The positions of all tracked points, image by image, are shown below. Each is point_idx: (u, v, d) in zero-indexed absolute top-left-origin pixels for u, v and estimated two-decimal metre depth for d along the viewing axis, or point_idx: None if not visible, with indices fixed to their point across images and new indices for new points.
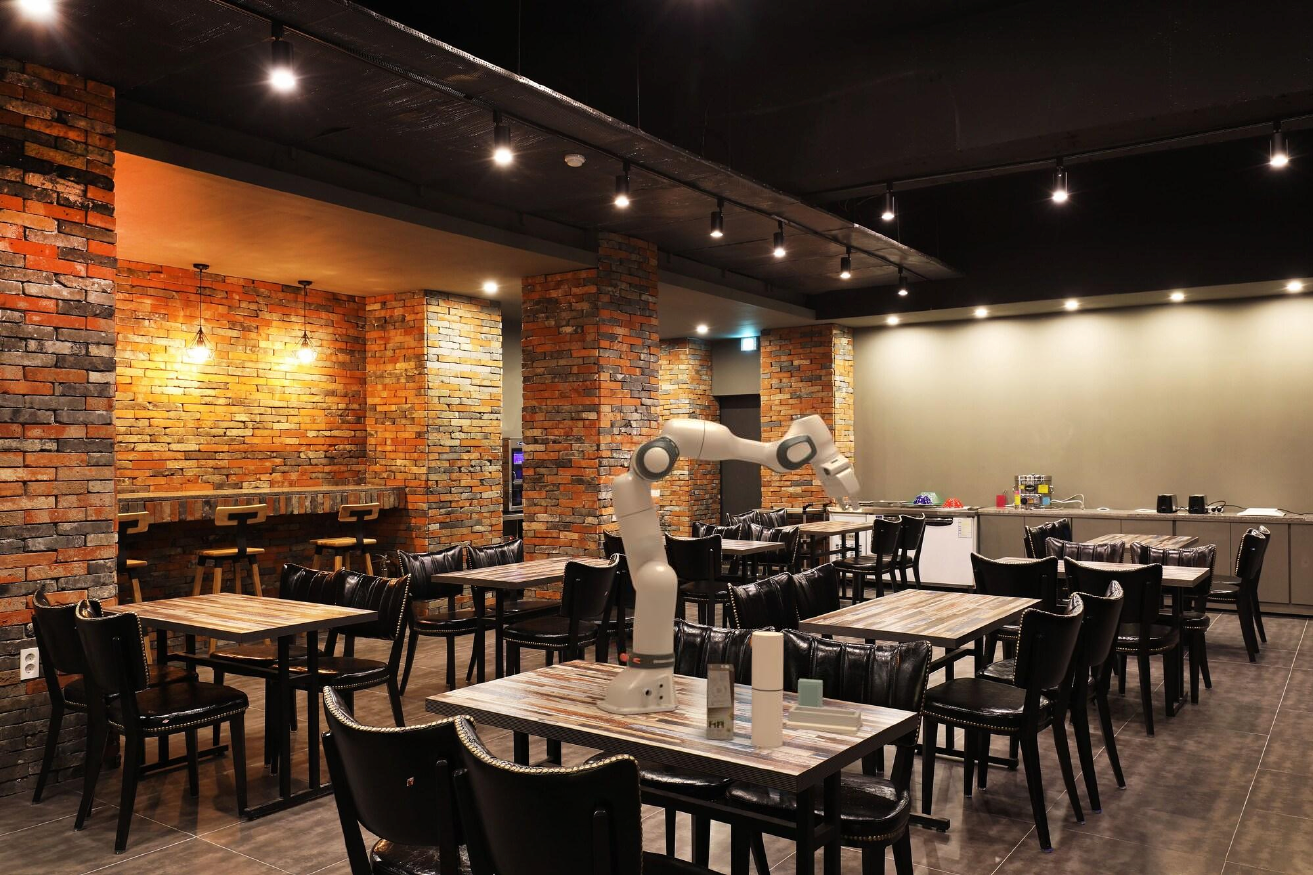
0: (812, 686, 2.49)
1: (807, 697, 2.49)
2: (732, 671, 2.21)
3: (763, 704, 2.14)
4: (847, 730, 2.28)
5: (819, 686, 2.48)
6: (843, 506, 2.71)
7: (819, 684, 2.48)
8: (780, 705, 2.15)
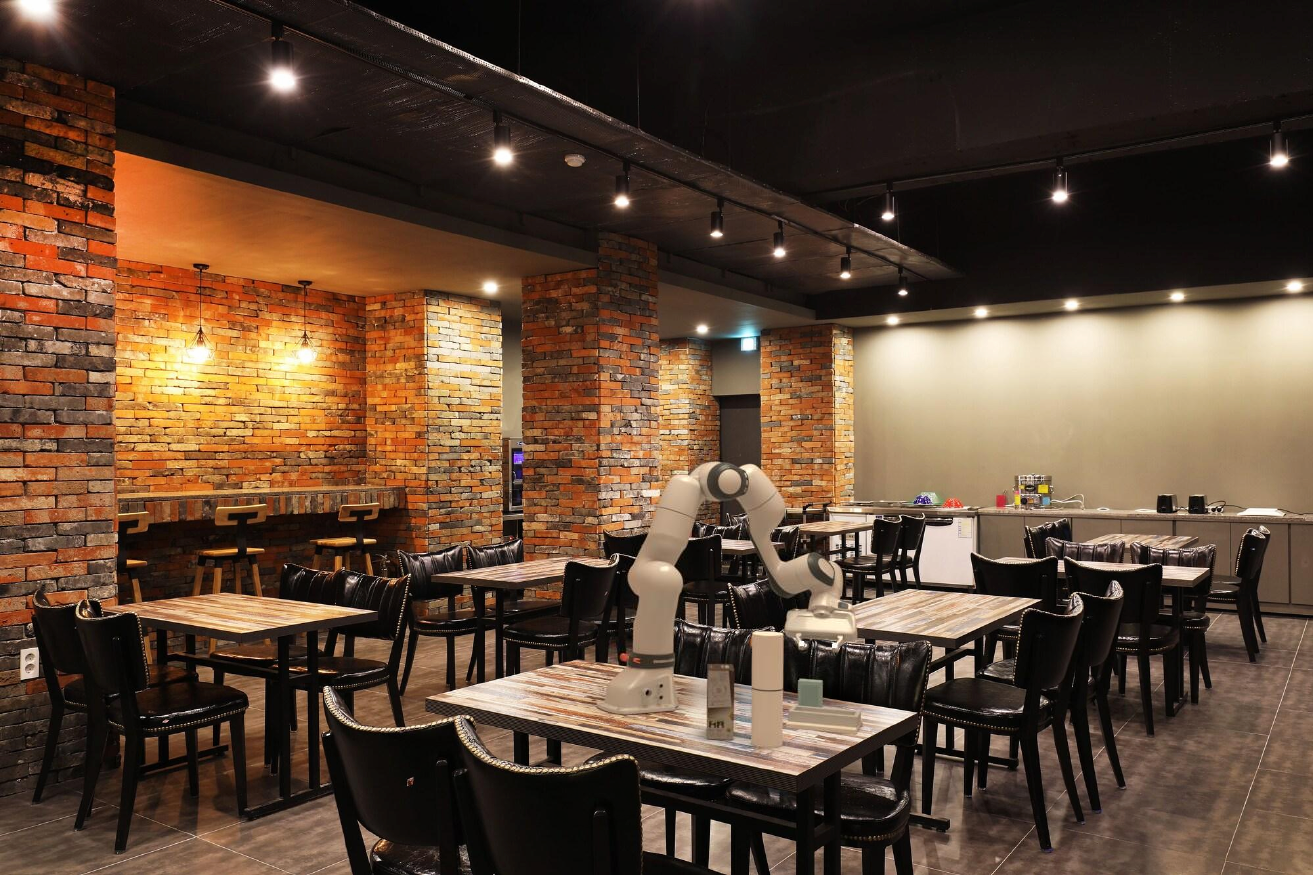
0: (812, 686, 2.49)
1: (807, 697, 2.49)
2: (732, 671, 2.21)
3: (763, 704, 2.14)
4: (847, 730, 2.28)
5: (819, 686, 2.48)
6: (803, 643, 2.64)
7: (819, 684, 2.48)
8: (780, 705, 2.15)
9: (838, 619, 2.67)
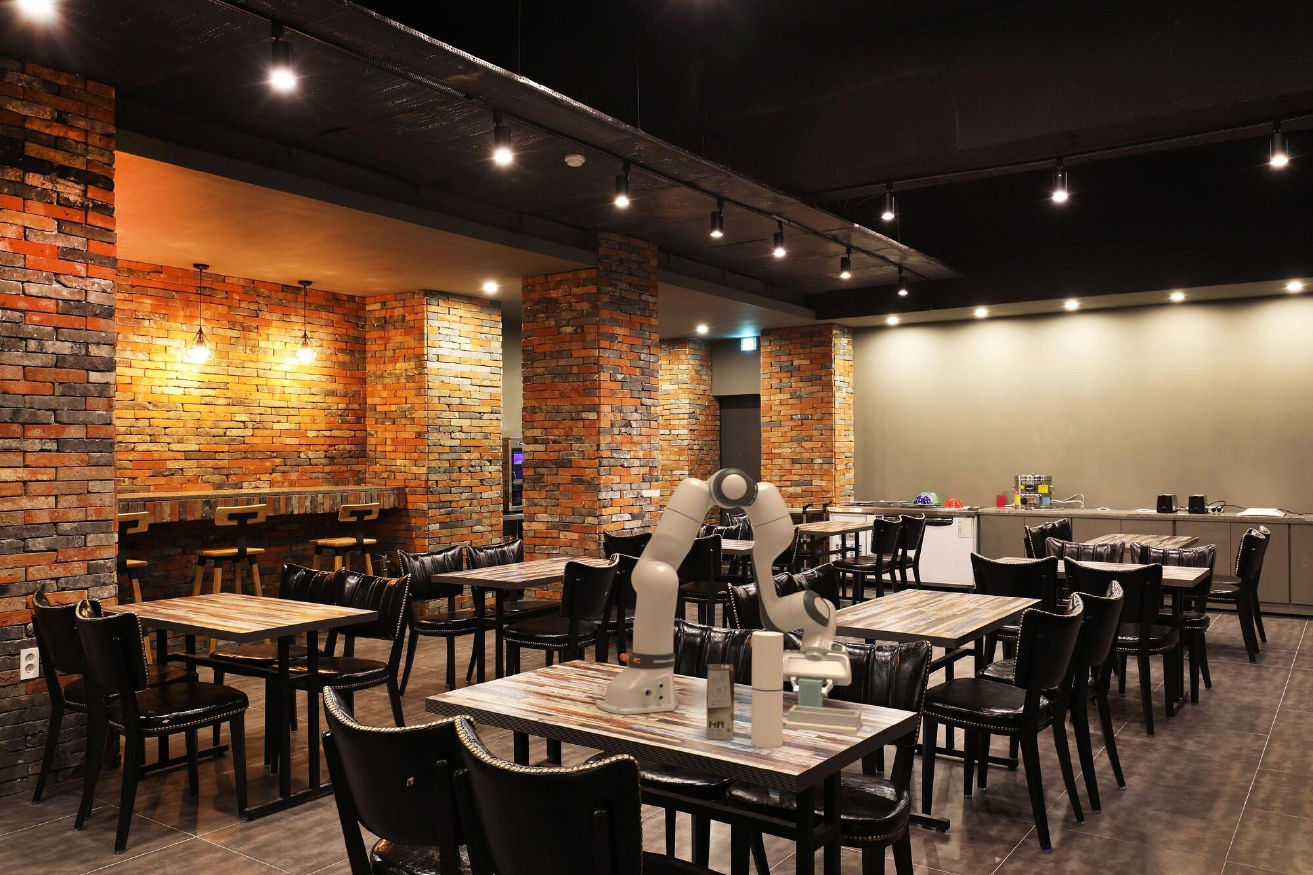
0: (812, 686, 2.49)
1: (807, 697, 2.49)
2: (732, 671, 2.21)
3: (763, 704, 2.14)
4: (847, 730, 2.28)
5: (819, 686, 2.48)
6: None
7: (819, 684, 2.48)
8: (780, 705, 2.15)
9: (831, 662, 2.54)
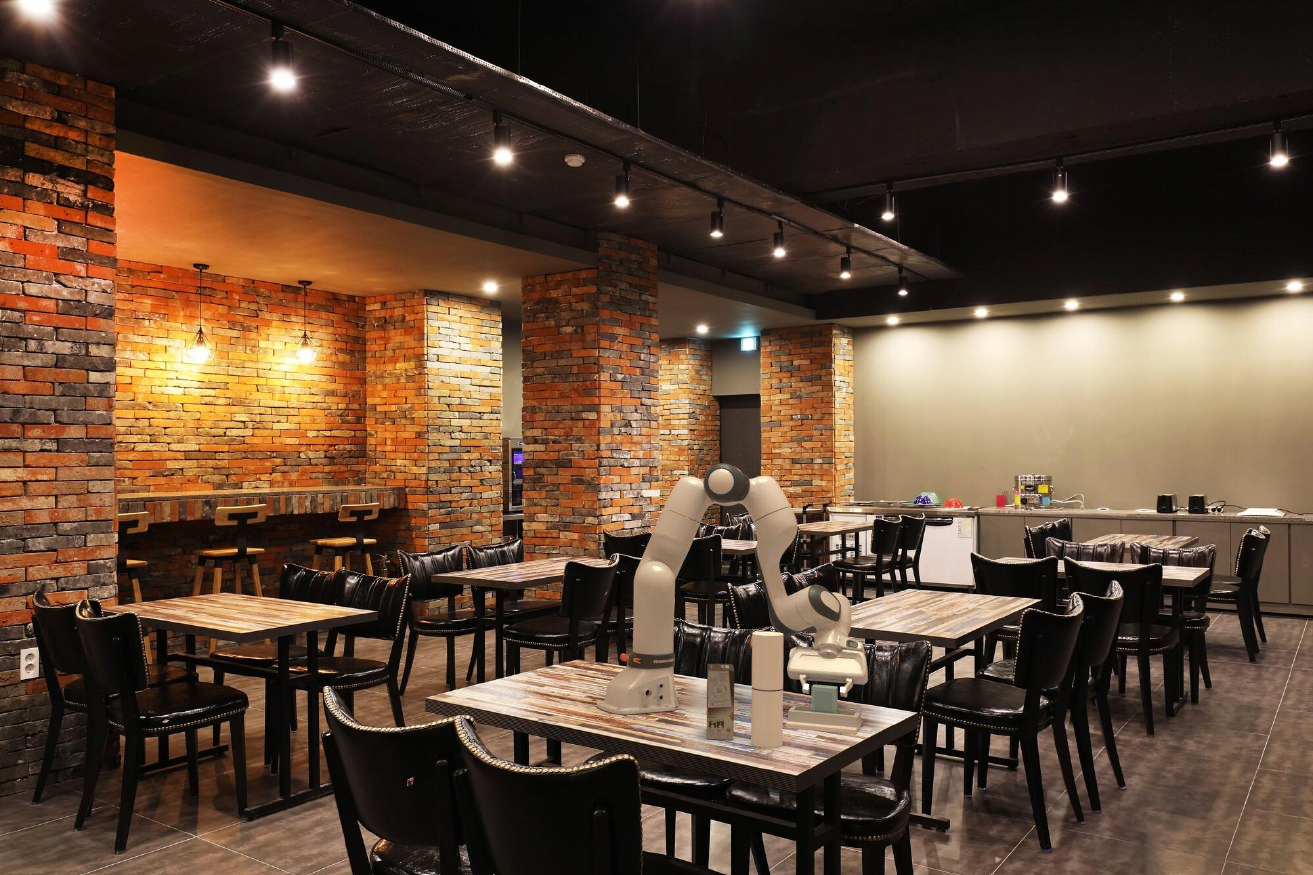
0: (826, 692, 2.35)
1: (821, 704, 2.35)
2: (732, 671, 2.21)
3: (763, 704, 2.14)
4: (847, 730, 2.28)
5: (833, 692, 2.34)
6: (808, 686, 2.38)
7: (834, 690, 2.34)
8: (780, 705, 2.15)
9: (846, 659, 2.40)
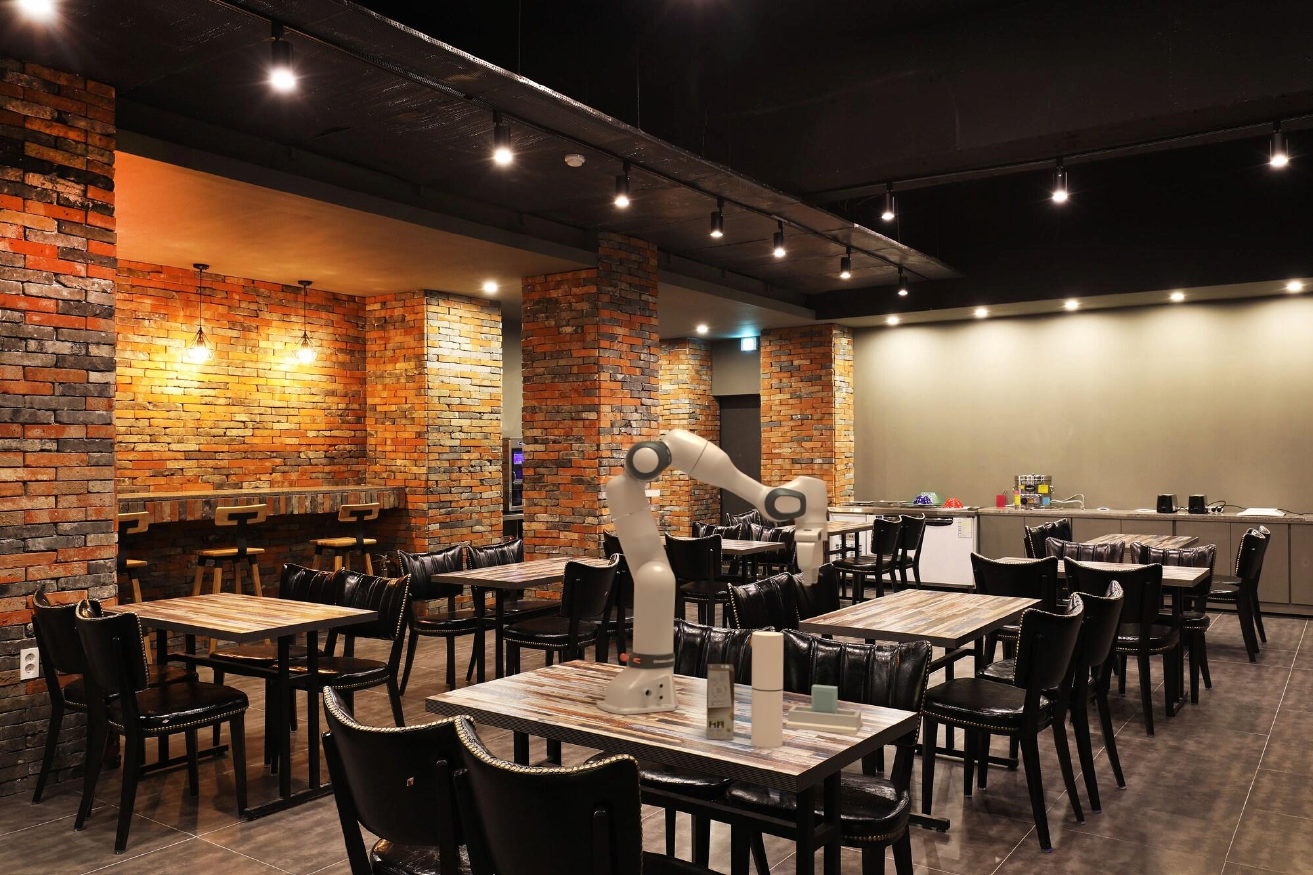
0: (826, 692, 2.35)
1: (821, 704, 2.35)
2: (732, 671, 2.21)
3: (763, 704, 2.14)
4: (847, 730, 2.28)
5: (833, 692, 2.34)
6: (811, 578, 2.65)
7: (834, 690, 2.34)
8: (780, 705, 2.15)
9: None
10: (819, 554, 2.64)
